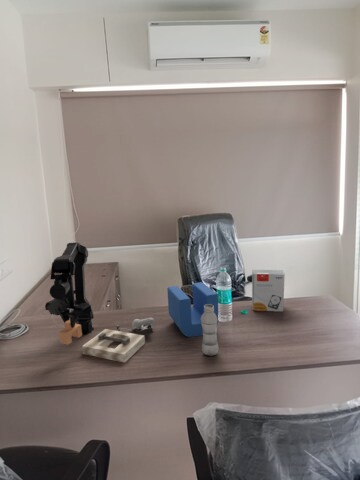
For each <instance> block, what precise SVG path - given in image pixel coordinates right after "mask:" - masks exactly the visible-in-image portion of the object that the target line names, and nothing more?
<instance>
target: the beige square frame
mask: <svg viewBox="0 0 360 480" xmlns="http://www.w3.org/2000/svg"><path fill="white" fill-rule="evenodd" d="M145 336H146V335H138V334H136V333H132V332H126V331H117V330H113V329H108V328H105V329H103V330H102V331H101V332H100V333H98V334H97V335H95V336H94V337H92V339H90V340H89V341H87V342H86V343H84V344H83V345H82V346H81V347H82V354H83V355H87V356H91V357H97V358H101V359H106V360H111V361H116V362H118V363H119V362H120V363H126V362H127V361H128V360H130V358H131V357H132V356H133V355H135V354H136V352H138V351H139V350H140V349H141V348H142V347H143V346H144V345H145V344H146V337H145ZM113 342H117V343H120V344H118V345H117V346H116V347H115V348H112V347H109V346H110V345H111V344H113Z"/></svg>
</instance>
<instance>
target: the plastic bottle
mask: <svg viewBox="0 0 360 480" xmlns="http://www.w3.org/2000/svg"><path fill="white" fill-rule="evenodd" d="M204 311H205V312H204V313H203V315H202V316H201V324H202V330H203V335H202V344H201V350H202V353H203V354H204V355H205V356H208V357H212V356H216V355H217V354H218V352H219V348H220V347H219V343H218V336H217V335H218V334H217V333H218V332H217V331H218V330H217V328H218V325H217V320H218V319H219V318H218V319H217V316H216V315H215V313H214V312H213V311H214V306H213V305H210V304H208V305H205V306H204ZM218 321H219V320H218Z"/></svg>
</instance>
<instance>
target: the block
mask: <svg viewBox="0 0 360 480" xmlns="http://www.w3.org/2000/svg"><path fill="white" fill-rule="evenodd" d="M191 301H192V302H191ZM208 304H210V305H213V306H214V311H213V312H214V313H215V315H216V316H217V319H218V320H217V326H218V325H219V294H218V293H217V292H215V291H214V290H212V289H211V288H210V287H209V286H207V285H206V284H205V283H203V282H202V281H200V282H194V283H192V300H191V298H190V297H189V296H188V295H187V294H186V293H185V292H184V291H183V290H182V289H181V288H180V287H178V285H173V286H168V287H167V307H168V315H169V316H170V318H171V320H172V321H173V322H174V323H175V325H176V326H177V327H178V329H179V330H180V332H181V333H182V334H183V335H185V336H186V337H189V338H193V337H199V336H203V330H202V324H201V316H202V315H203V313H204V312H205V311H204V306H205V305H208ZM192 305H193V306H192Z"/></svg>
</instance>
